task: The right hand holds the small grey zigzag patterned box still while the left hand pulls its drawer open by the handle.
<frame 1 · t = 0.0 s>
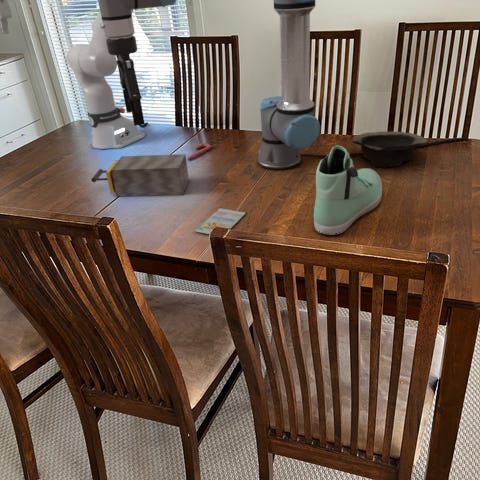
left hand: (0, 32, 160), 48 cm above the table, tool pointing down, fingers open, 8 cm apart
right hand: (135, 118, 134), 28 cm above the table, tool pointing down, fingers open, 13 cm apart
candy cane: (197, 153, 185), on the table
drawer: (134, 175, 159), point 5 cm above the table, slide at 1.0 cm
baking ingredient package: (221, 222, 137), on the table
sneaker: (348, 208, 139), on the table
grey zigzag patterned box: (153, 188, 161), on the table
stone bowl: (386, 158, 168), on the table
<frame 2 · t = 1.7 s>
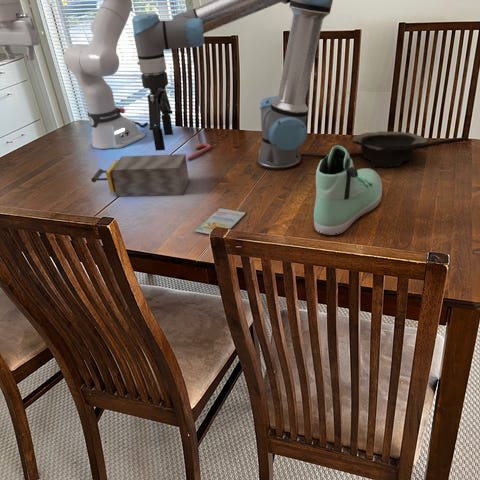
left hand: (21, 59, 159), 40 cm above the table, tool pointing down, fingers open, 8 cm apart
right hand: (164, 142, 151), 16 cm above the table, tool pointing down, fingers open, 13 cm apart
nothing on the table moved.
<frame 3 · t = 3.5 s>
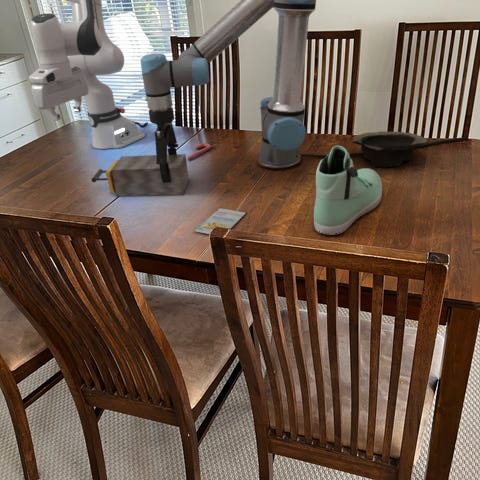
left hand: (67, 115, 156), 24 cm above the table, tool pointing down, fingers open, 8 cm apart
right hand: (170, 174, 157), 5 cm above the table, tool pointing down, fingers closed on grey zigzag patterned box, 11 cm apart
grey zigzag patterned box: (153, 188, 161), on the table, touching right hand
everything else where it was.
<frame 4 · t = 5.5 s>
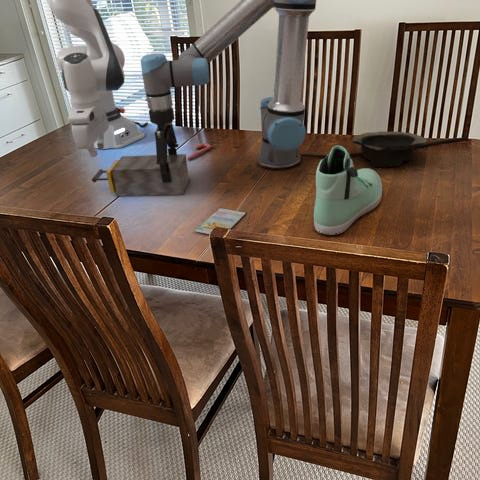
left hand: (97, 152, 155), 13 cm above the table, tool pointing down, fingers open, 6 cm apart
right hand: (170, 174, 157), 5 cm above the table, tool pointing down, fingers closed on grey zigzag patterned box, 11 cm apart
grey zigzag patterned box: (154, 188, 161), on the table, touching right hand
everything else where it was.
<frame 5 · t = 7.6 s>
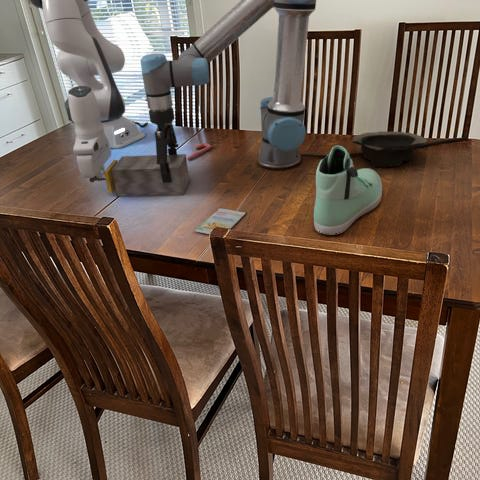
left hand: (101, 179, 161), 4 cm above the table, tool pointing down, fingers closed, pressing on drawer
right hand: (171, 174, 157), 5 cm above the table, tool pointing down, fingers closed on grey zigzag patterned box, 11 cm apart
drawer: (132, 175, 159), point 5 cm above the table, slide at 1.8 cm, touching left hand
grey zigzag patterned box: (154, 188, 161), on the table, touching right hand
everything else where it was.
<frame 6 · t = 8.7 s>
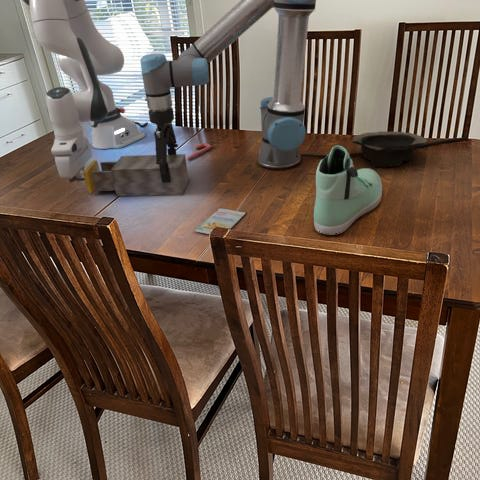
left hand: (81, 180, 161), 4 cm above the table, tool pointing down, fingers closed, pressing on drawer
right hand: (170, 174, 157), 5 cm above the table, tool pointing down, fingers closed on grey zigzag patterned box, 11 cm apart
drawer: (111, 176, 160), point 5 cm above the table, slide at 8.5 cm, touching left hand
grey zigzag patterned box: (153, 187, 161), on the table, touching right hand
everything else where it was.
when the right hand's fingers open (5 cm above the table, at t = 10.3 s): grey zigzag patterned box stays where it is, on the table.
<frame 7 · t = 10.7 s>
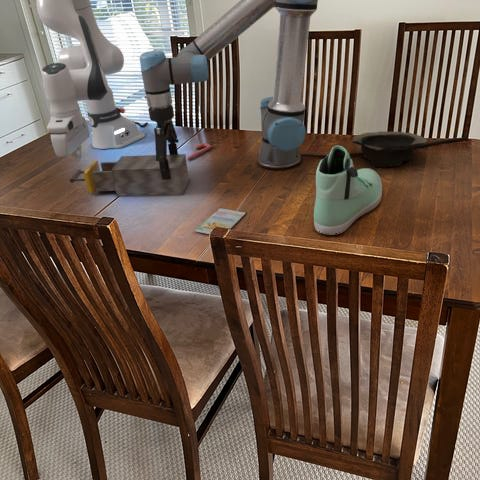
left hand: (78, 160, 158), 11 cm above the table, tool pointing down, fingers closed
right hand: (171, 170, 157), 6 cm above the table, tool pointing down, fingers open, 13 cm apart
drawer: (112, 176, 160), point 5 cm above the table, slide at 8.5 cm
grey zigzag patterned box: (153, 188, 161), on the table
everything else where it was.
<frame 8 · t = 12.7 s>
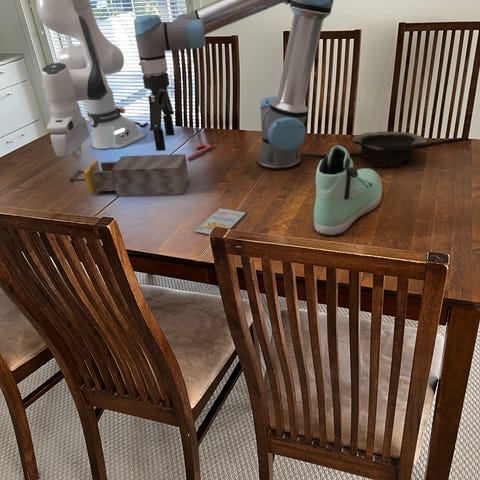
left hand: (78, 160, 158), 11 cm above the table, tool pointing down, fingers closed
right hand: (165, 142, 152), 16 cm above the table, tool pointing down, fingers open, 13 cm apart
nothing on the table moved.
at the end: drawer slide at 8.5 cm; grey zigzag patterned box tilted 0°; grey zigzag patterned box never tilted more than 1° during the clip; grey zigzag patterned box moved 0.1 cm from its start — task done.
